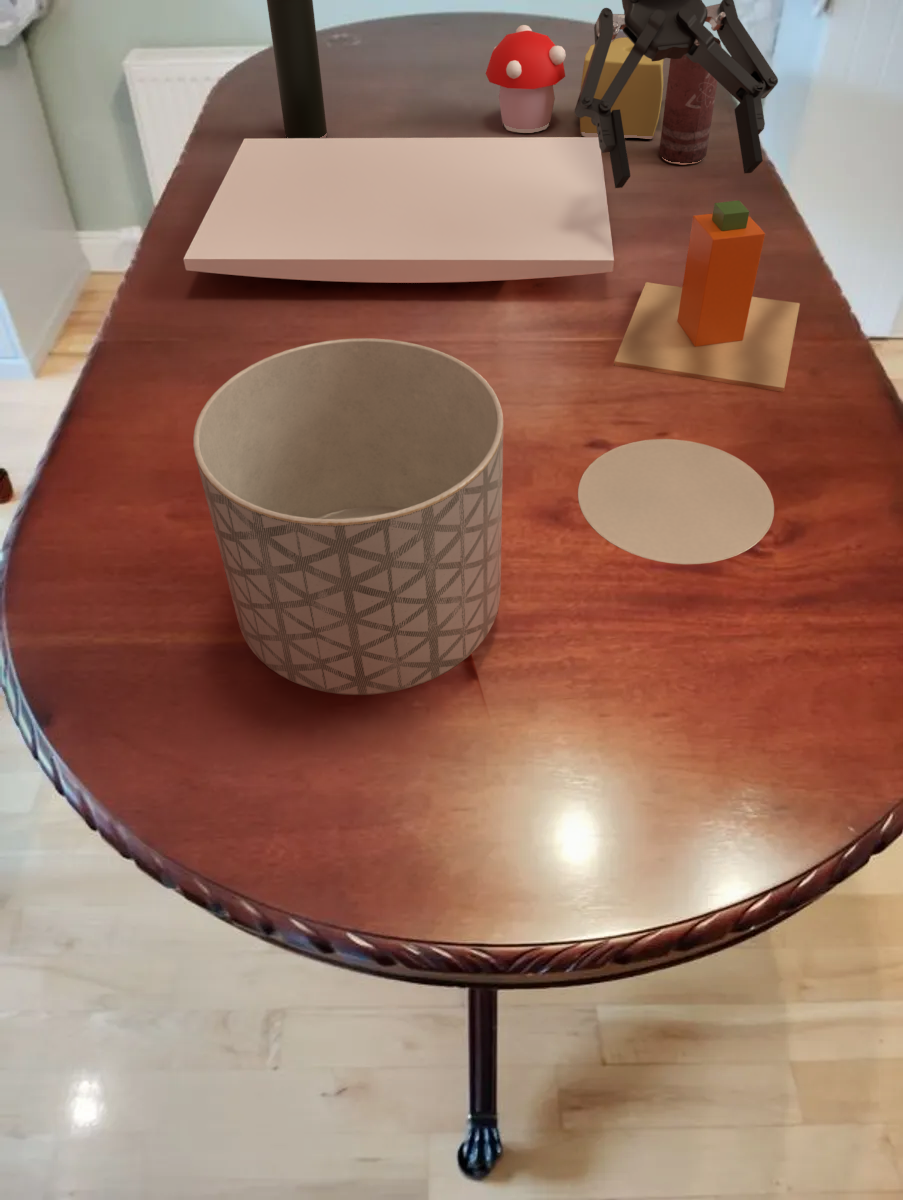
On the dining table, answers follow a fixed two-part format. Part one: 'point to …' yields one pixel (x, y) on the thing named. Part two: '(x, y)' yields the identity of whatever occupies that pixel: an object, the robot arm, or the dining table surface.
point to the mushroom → (526, 77)
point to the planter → (357, 510)
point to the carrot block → (720, 274)
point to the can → (687, 111)
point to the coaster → (745, 362)
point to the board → (409, 210)
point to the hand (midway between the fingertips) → (688, 175)
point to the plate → (675, 501)
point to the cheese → (629, 90)
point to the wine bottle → (297, 67)
